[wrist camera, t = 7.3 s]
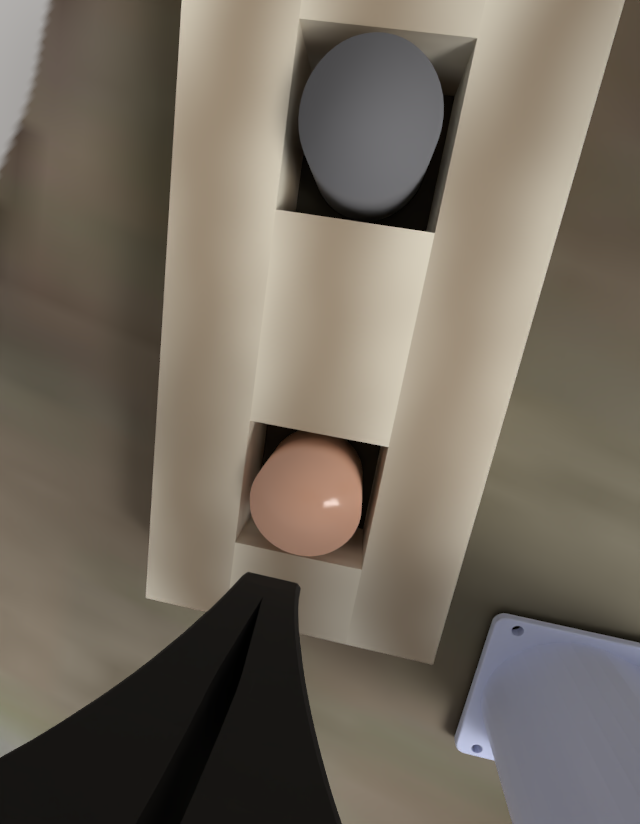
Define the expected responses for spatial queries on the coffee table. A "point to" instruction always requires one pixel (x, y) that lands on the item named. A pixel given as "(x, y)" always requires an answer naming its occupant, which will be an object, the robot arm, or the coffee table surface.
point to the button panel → (355, 297)
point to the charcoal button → (371, 124)
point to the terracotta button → (309, 494)
